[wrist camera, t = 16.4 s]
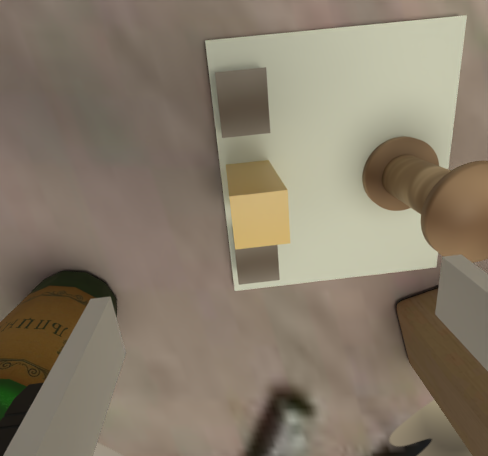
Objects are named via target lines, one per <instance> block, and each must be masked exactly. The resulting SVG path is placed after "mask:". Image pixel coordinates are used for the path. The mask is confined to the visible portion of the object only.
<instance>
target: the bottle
mask: <svg viewBox="0 0 488 456" xmlns="http://www.w3.org/2000/svg"><path fill="white" fill-rule="evenodd" d="M102 297H111V300H112V304H113V307H114V311H115V314H116V317H117V303H116V298H115V296H114V295H113V294H112V292H111V291H110V289H109V288H108V286H107V285H106V283H104V282H103V281H101V280H99V279H97V278H95V277H93V276H91V275H90V274H88V273H86V272H71V271H62V272H60V273H58V274H55V275H53V276H51V277H48V278H46V279H44V280H43V281H42V282H41V283H40V284H39V285H38V286H37V287H36V288H35V289H34V290H33V291H32V292H31V293H30V294H29V295H28V296H27V297H26V298H25V299H24V300H23V301H22V302H21V303H20V304H19V305H18V306H17V307H16V308H15V309H14V310H13V311H12V312H11V313H9V314H8V315H7V316H6V317H5V318H4V319H3V320H2V321H1V322H0V420H1V419H2V418H3V417H4V414H5V412H6V411H7V409H8V408H9V406H10V404H11V403H12V401H13V400H14V398H15V397H16V396H17V395H18V394H20V393H21V392H22V391H23V390H24V389H25V388H26V387H27V386H28V385H29V384H36V383H44V382H45V380H46V378H47V376H48V374H49V373H50V371H51V369H52V367H53V365H54V364H55V362H56V360H57V358H58V356H59V355H60V353H61V351H62V349H63V347H64V346H65V344H66V342H67V340H68V339H69V337H70V335H71V333H72V331H73V330H74V328H75V326H76V324H77V322H78V321H79V319H80V317H81V315H82V313H83V312H84V310H85V308H86V306H87V304H88V303H89V301H90V299H94V298H102Z"/></svg>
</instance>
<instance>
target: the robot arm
mask: <svg viewBox="0 0 488 456" xmlns="http://www.w3.org/2000/svg"><path fill="white" fill-rule="evenodd" d="M435 315H436V316H437V317H438V318H439V319H440V320H441V321H442V322H443V323H444V324H445V326H446V327H447V328H448V329H449V330H450V331H451V332H452V333H453V334H454V335H455V336H456V338H457V339H458V340H459V341H460V342H461V343H462V344H463V345H464V346H465V347H466V348H467V349H468V351H469V352H470V353H471V354H472V355H473V356H474V357H475V358H476V359H477V360H478V361H479V362H480V364H481V365H482V366H483V367H484V368H485V369H486V370H487V371H488V274H487V273H486V272H485V271H483V270H482V269H480V268H479V267H478V266H476V265H475V264H474V263H472V262H471V261H469V260H468V259H467V258H465V257H464V256H463V255H453V256H444V257H442V263H441V271H440V279H439V287H438V295H437V303H436V310H435ZM125 354H126V351H125V347H124V343H123V340H122V336H121V333H120V329H119V325H118V322H117V318H116V314H115V311H114V307H113V304H112V300H111V297H102V298H94V299H90V301H89V303H88V304H87V306H86V308H85V310H84V312H83V313H82V315H81V317H80V319H79V321H78V322H77V324H76V326H75V328H74V330H73V331H72V333H71V335H70V337H69V339H68V340H67V342H66V344H65V346H64V347H63V349H62V351H61V353H60V355H59V356H58V358H57V360H56V362H55V364H54V365H53V367H52V369H51V371H50V373H49V374H48V376H47V378H46V380H45V382H44V383H36V384H29V385H28V386H27V387H26V388H25V389H24V390H23V391H22V392H21V393H20V394H18V395H17V396H16V397H15V398H14V400H13V401H12V403H11V404H10V406H9V408H8V409H7V411H6V412H5V414H4V417H3V418H2V419H1V420H0V456H93V454H94V450H95V448H96V444H97V442H98V438H99V435H100V432H101V429H102V426H103V423H104V420H105V417H106V414H107V410H108V407H109V404H110V401H111V398H112V395H113V392H114V389H115V386H116V382H117V379H118V376H119V373H120V370H121V367H122V364H123V361H124V358H125Z"/></svg>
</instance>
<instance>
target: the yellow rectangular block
mask: <svg viewBox="0 0 488 456" xmlns="http://www.w3.org/2000/svg"><path fill="white" fill-rule="evenodd" d="M226 172H227V181H228V190H229V199H230V208H231V217H232V226H233V234H234V243H235V250H236V249H245V248H254V247H262V246H271V245H280V244H289V243H290V226H289V206H288V190H287V188H286V187H285V185H284V183H283V182H282V180H281V179H280V177H279V176H278V174H277V173H276V171H275V169H274V168H273V166H272V165H271V163H270V162H269V160H263V161H254V162H245V163H236V164H226Z"/></svg>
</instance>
